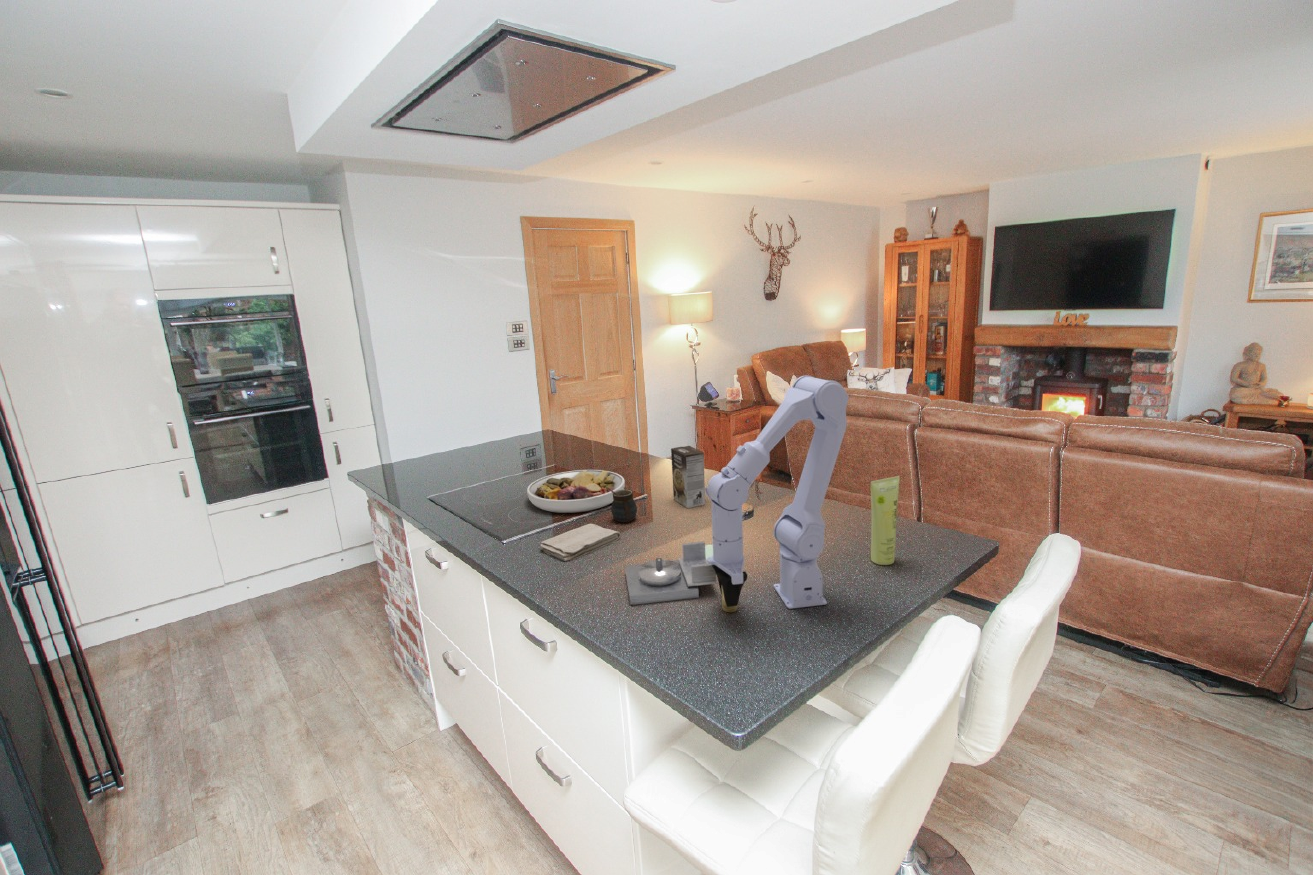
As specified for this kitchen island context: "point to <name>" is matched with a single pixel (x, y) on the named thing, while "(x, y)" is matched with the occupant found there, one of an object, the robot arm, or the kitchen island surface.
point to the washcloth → (579, 542)
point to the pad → (708, 551)
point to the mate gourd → (623, 506)
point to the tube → (884, 519)
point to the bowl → (575, 490)
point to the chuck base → (656, 588)
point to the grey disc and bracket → (670, 571)
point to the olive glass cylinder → (724, 606)
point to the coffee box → (688, 476)
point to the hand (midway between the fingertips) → (729, 600)
